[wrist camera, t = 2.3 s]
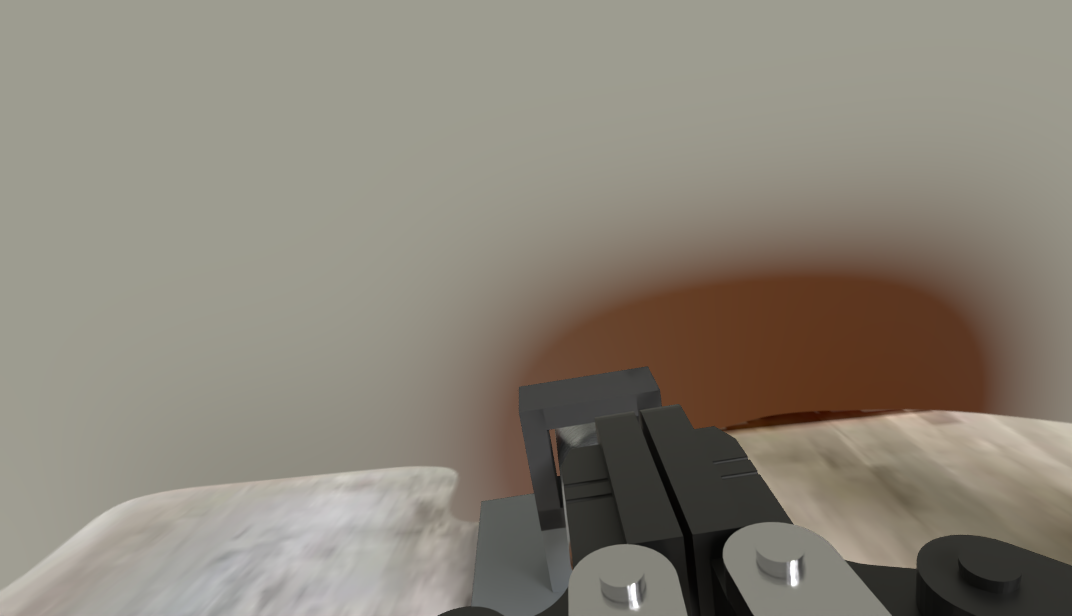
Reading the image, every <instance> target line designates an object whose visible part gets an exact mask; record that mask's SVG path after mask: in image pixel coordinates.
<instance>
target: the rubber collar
mask: <svg viewBox="0 0 1072 616" xmlns="http://www.w3.org/2000/svg"><path fill="white" fill-rule="evenodd" d="M657 407H662V405H661V395H660V389H659V387H658V385H657V383H656V381H655V379H654V377H653V376H652V374H651V372H650V370H649V368H648V367H641V368H635V369H628V370H622V371H616V372H609V373H603V374H598V375H591V376H584V377H578V378H572V379H565V380H559V381H553V382H547V383H540V384H534V385H528V386H521V387H519V415H520V421H521V426H522V431H523V437H524V441H525V447H526V453H527V458H528V463H529V469H530V473H531V479H532V485H533V490H534V495H535V501H536V506H537V511H538V517H539V522H540V527H541V531H546V530H552V529H559V528H565V527H566V521H565V512H564V503H563V495H562V486H561V477H560V476H557V473H556V468H555V462H554V456H553V450H552V444H551V439H550V434H549V430H550V429H557V428H563V427H569V426H576V425H582V424H589V423H595V417H600V416H607V415H613V414H619V413H626V412H632V411H634V413H635V415H636V417H637V420H638V422H639V410H644V409H650V408H657ZM639 425H640V424H639Z"/></svg>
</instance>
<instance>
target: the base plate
mask: <svg viewBox="0 0 1072 616" xmlns="http://www.w3.org/2000/svg"><path fill="white" fill-rule="evenodd" d="M571 573H572V568H571V564H570V555H569V547H568V538H567V529H566V527H565V528H559V529H552V530H546V531H541V527H540V522H539V517H538V511H537V506H536V501H535V495H534V493H533V494H527V495H520V496H514V497H507V498H501V499H495V500H488V501H482V502H481V513H480V522H479V533H478V543H477V553H476V563H475V573H474V583H473V593H472V603H471V606H480V607H485V608H490V609H492V610H495V611H497V612H499V613H501V614H502V615H504V616H535V615H537V614H539V613H541V612H543V611H544V610H546V609H547V608H549V607H550V606H551V605H553V604H554V603H555V602H556V601H557V600H558V599H559V598H560V597H561V596H562V595H563V594H564V592H565V591H566V589H567V587H568V586H569V579H570V576H571Z"/></svg>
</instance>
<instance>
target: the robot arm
mask: <svg viewBox="0 0 1072 616" xmlns="http://www.w3.org/2000/svg"><path fill="white" fill-rule="evenodd" d="M639 424H640V425H639ZM595 427H596V434H597V441H598V445H591V446H585V447H578V448H572V449H570V451H569V453H568V455H567V456H566V458H565V460H564V462H563V464H562V465H561V470H562V478H563V486H564V495H565V502H566V511H567V519H568V528H569V536H570V544H571V553H572V561H573V571H572V573H571V576H570V579H569V586H568V587H567V589H566V591H565V592H564V594H563V595H562V596H561V597H560V598H559V599H558V600H557V601H556V602H555V603H554V604H553V605H551V606H550V607H549V608H547V609H546V610H544V611H543V612H541V613H539V614H537V615H535V616H1072V566H1071V565H1068V564H1066V563H1063V562H1060V561H1057V560H1054V559H1051V558H1048V557H1046V556H1043V555H1040V554H1037V553H1034V552H1031V551H1029V550H1026V549H1023V548H1020V547H1017V546H1014V545H1012V544H1009V543H1006V542H1002V541H999V540H996V539H991V538H987V537H981V536H973V535H950V536H945V537H940V538H937V539H934V540H932V541H930V542H928V543H927V544H925V545H924V546H923V547H922V548H921V550H920V551H919V553H918V556H917V568H916V569H911V568H900V567H888V566H876V565H867V564H860V563H855V562H851V561H847V560H844V559H843V558H842V557H841V555H840V554H839V553H838V552H837V551H836V550H835V548H834V547H833V546H832V545H831V544H830V543H829V542H828V541H827V540H825V539H824V538H823V537H821V536H820V535H818V534H816V533H814V532H813V531H811V530H808V529H806V528H803V527H800V526H797V525H794V524H793V523H792V521H791V520H790V518H789V517H788V515H787V514H786V512H785V511H784V509H783V508H782V506H781V505H780V503H779V502H778V501H777V499H776V498H775V496H774V495H773V493H772V492H771V490H770V489H769V487H768V486H767V484H766V483H765V481H764V480H763V478H762V477H761V475H760V474H758V473H757V470H756V468H755V467H754V465H753V464H752V462H751V461H750V460H748V457H747V455H746V453H745V452H744V450H743V449H742V447H741V446H740V444H739V443H738V442H737V440H736V439H735V438H733V437H732V436H730V435H728V434H727V433H725V432H723V431H721V430H720V429H718V428H716V427H714V426H712V427H706V428H700V429H694V428H693V427H692V425H691V423H690V421H689V420H688V418H687V416H686V414H685V412H684V411H683V409H682V407H681V406H680V405H679V404H676V405H671V406H664V407H657V408H650V409H644V410H639V422H638V420H637V417H636V415H635V413H634V411H632V412H626V413H619V414H613V415H607V416H600V417H595ZM438 616H504V615H502V614H501V613H499V612H497V611H495V610H492V609H490V608H485V607H480V606H469V607H461V608H457V609H453V610H450V611H447V612H444V613H442V614H440V615H438Z"/></svg>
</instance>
